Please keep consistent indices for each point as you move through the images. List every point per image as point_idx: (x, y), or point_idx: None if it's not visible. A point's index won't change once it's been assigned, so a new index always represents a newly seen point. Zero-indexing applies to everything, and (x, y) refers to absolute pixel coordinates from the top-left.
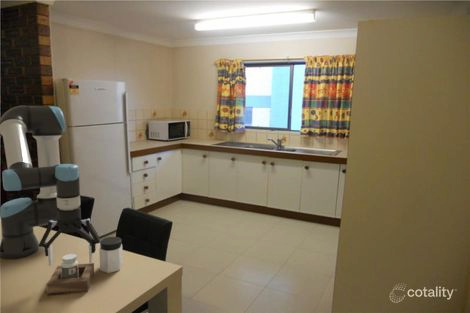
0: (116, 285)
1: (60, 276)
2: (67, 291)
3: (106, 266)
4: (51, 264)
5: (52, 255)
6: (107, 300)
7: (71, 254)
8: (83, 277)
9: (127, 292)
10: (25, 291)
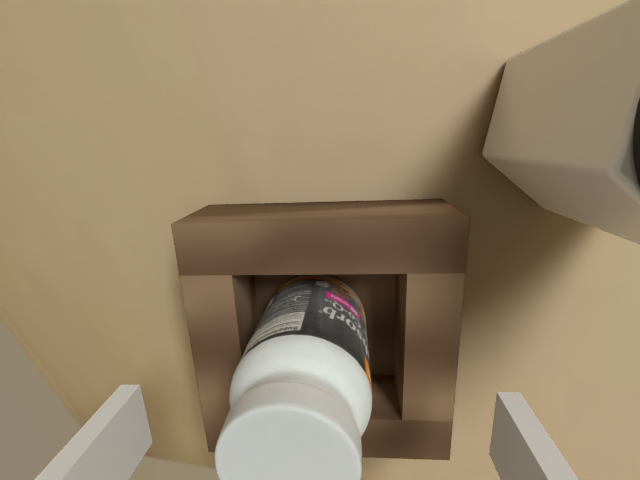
0: (593, 362)
1: (246, 331)
2: None
3: (563, 211)
4: (148, 435)
5: (90, 466)
6: None
7: (291, 422)
8: (418, 421)
9: None
10: (104, 337)
